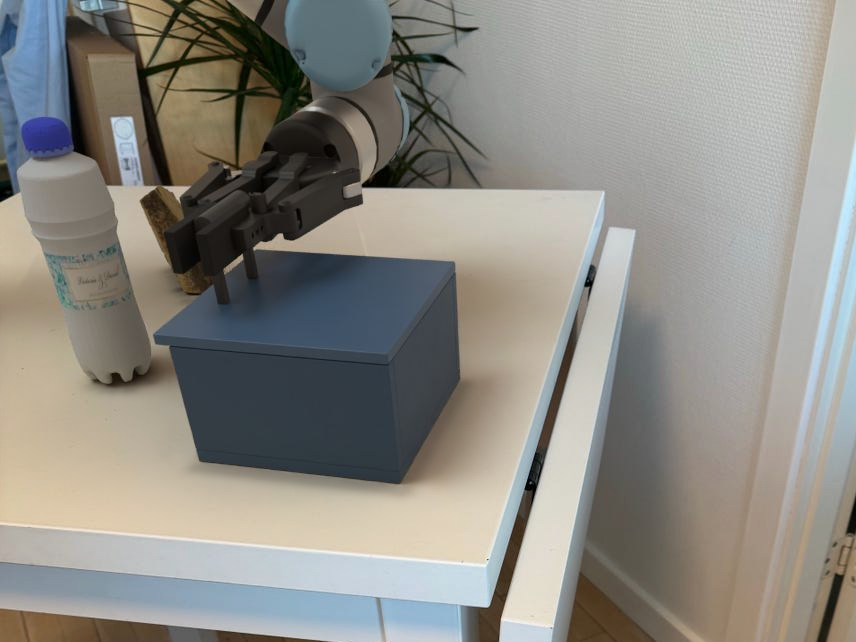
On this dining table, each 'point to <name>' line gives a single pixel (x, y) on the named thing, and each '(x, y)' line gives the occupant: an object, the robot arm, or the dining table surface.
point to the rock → (161, 217)
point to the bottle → (82, 252)
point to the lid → (308, 303)
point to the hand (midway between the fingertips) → (189, 254)
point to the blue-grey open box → (323, 403)
